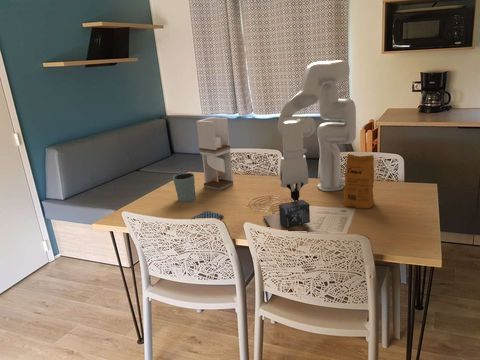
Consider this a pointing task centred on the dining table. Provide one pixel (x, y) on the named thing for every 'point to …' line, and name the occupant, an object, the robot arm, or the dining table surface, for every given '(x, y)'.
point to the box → (294, 213)
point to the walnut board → (274, 222)
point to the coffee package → (359, 181)
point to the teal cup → (185, 187)
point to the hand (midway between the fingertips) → (295, 199)
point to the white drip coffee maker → (215, 152)
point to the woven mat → (209, 215)
